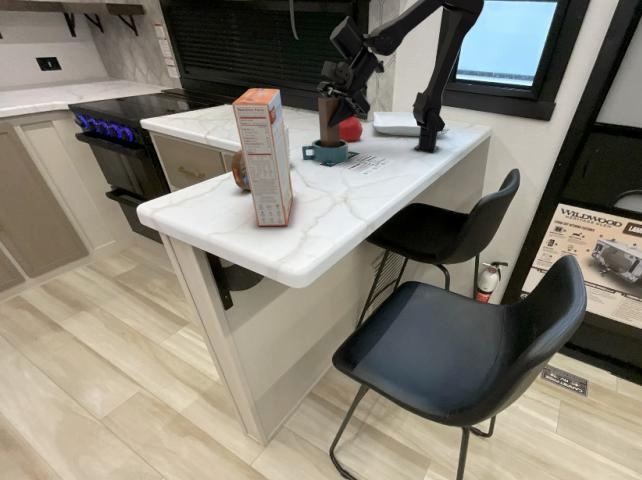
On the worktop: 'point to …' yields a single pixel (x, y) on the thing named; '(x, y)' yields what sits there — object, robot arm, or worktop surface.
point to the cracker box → (265, 154)
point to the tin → (240, 170)
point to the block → (327, 134)
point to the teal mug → (327, 152)
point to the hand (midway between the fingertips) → (325, 124)
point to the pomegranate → (350, 129)
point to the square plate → (399, 124)
